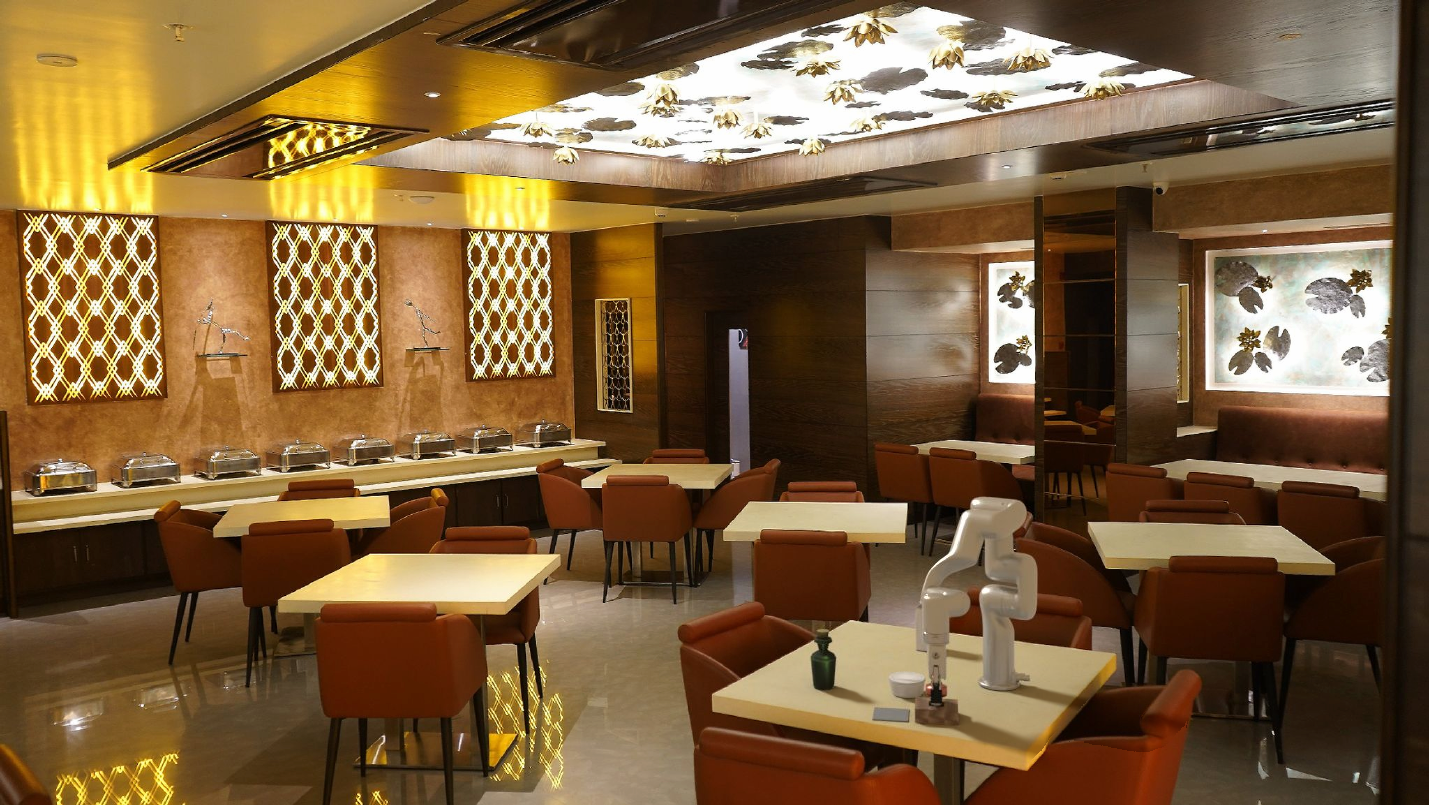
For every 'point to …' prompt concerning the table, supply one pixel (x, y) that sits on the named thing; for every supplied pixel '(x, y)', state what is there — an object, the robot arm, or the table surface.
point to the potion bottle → (823, 662)
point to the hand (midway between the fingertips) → (936, 698)
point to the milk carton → (919, 630)
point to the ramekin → (907, 684)
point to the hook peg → (944, 693)
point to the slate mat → (890, 714)
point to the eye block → (936, 711)
